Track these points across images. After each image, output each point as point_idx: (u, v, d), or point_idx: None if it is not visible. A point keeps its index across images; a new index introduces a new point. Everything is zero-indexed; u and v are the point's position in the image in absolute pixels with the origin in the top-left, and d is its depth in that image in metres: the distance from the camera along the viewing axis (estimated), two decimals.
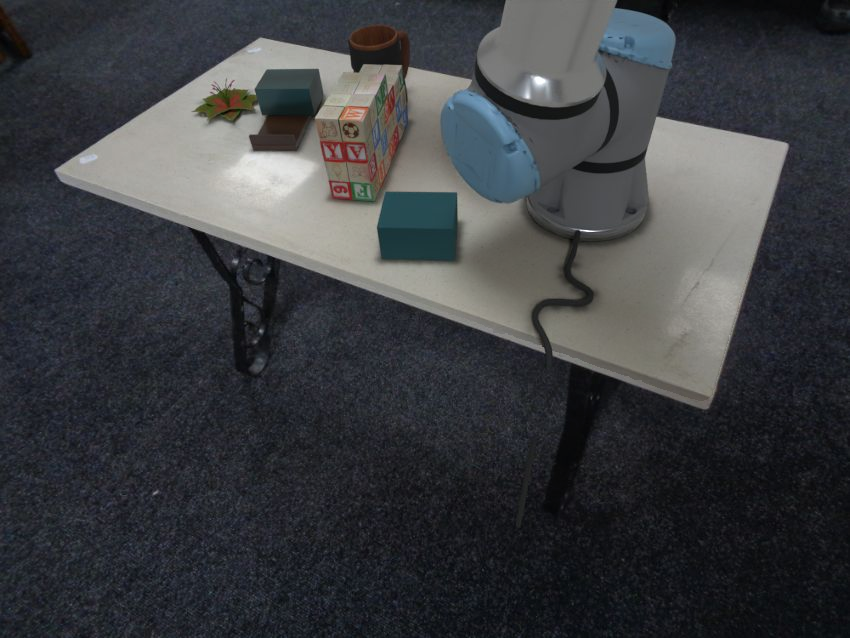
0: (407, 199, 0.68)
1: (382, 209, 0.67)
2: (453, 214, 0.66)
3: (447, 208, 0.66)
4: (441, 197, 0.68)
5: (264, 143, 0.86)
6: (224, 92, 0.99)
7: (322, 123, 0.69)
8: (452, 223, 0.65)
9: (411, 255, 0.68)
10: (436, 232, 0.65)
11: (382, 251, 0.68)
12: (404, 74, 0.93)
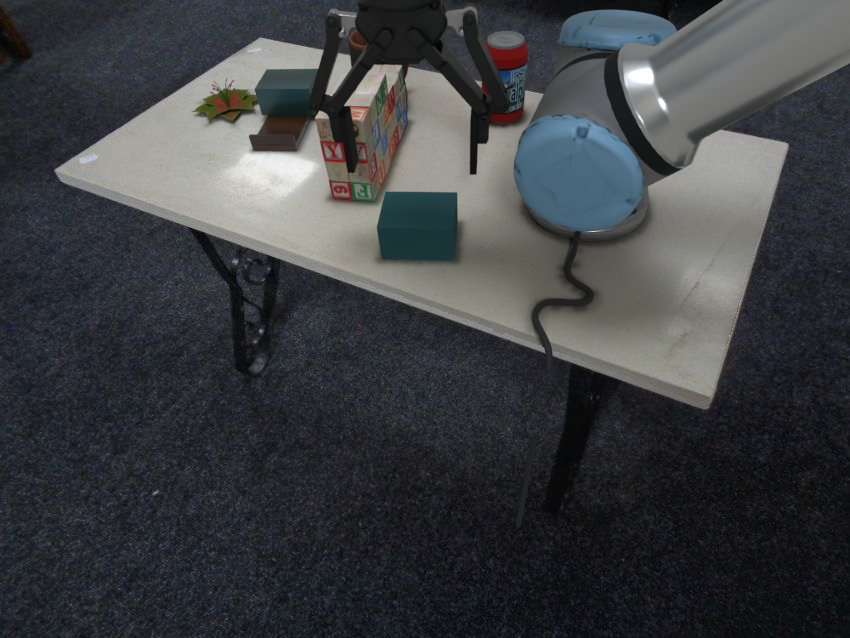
0: (407, 199, 0.68)
1: (382, 209, 0.67)
2: (453, 214, 0.66)
3: (447, 208, 0.66)
4: (441, 197, 0.68)
5: (264, 143, 0.86)
6: (224, 92, 0.99)
7: (322, 123, 0.69)
8: (452, 223, 0.65)
9: (411, 255, 0.68)
10: (436, 232, 0.65)
11: (382, 251, 0.68)
12: (404, 74, 0.93)
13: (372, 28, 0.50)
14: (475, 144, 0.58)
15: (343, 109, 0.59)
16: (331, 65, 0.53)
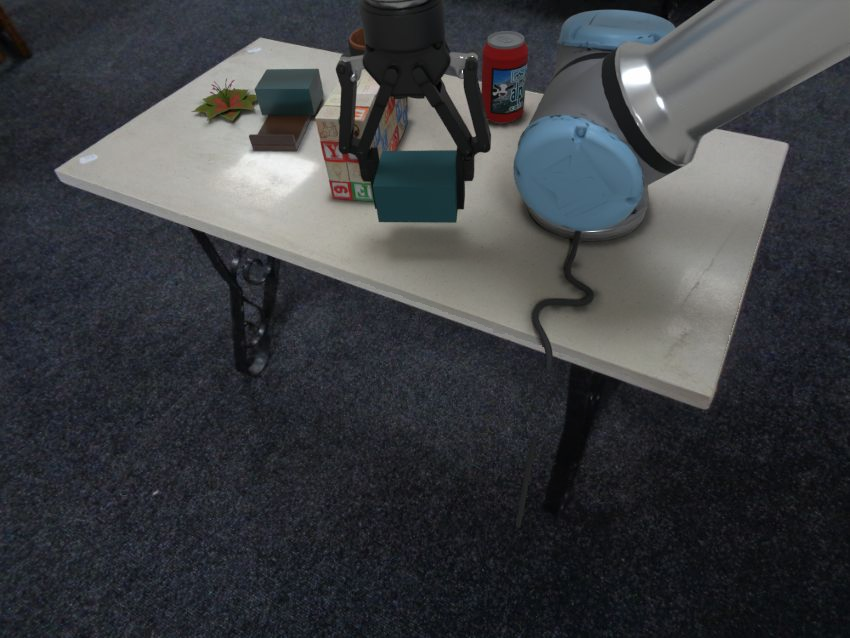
0: (405, 158, 0.64)
1: (379, 168, 0.63)
2: (455, 171, 0.61)
3: (448, 166, 0.62)
4: (442, 155, 0.63)
5: (264, 143, 0.86)
6: (224, 92, 0.99)
7: (322, 123, 0.69)
8: (454, 180, 0.60)
9: (410, 217, 0.63)
10: (436, 190, 0.60)
11: (379, 213, 0.63)
12: None
13: (379, 65, 0.53)
14: (461, 182, 0.61)
15: (371, 151, 0.62)
16: (350, 108, 0.56)
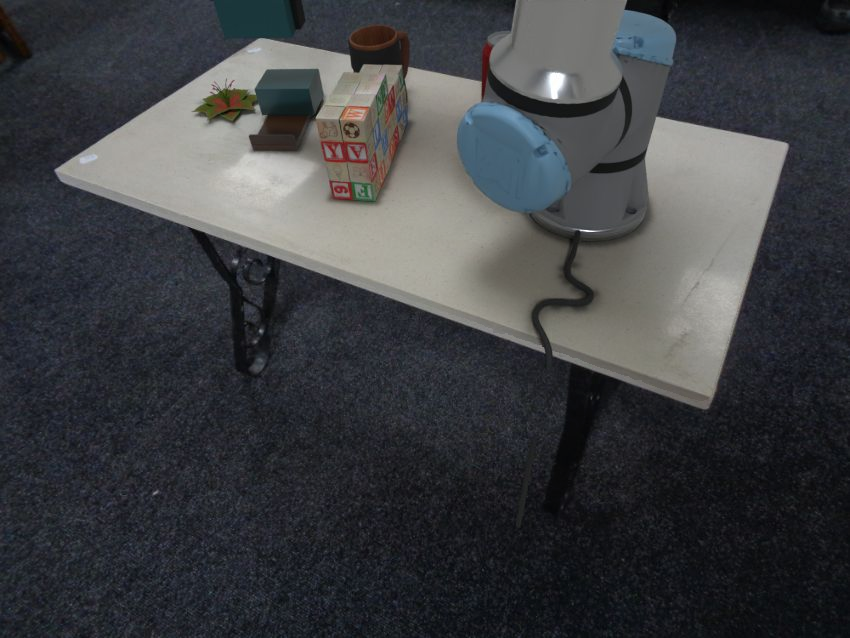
0: None
1: None
2: None
3: None
4: None
5: (264, 143, 0.86)
6: (224, 92, 0.99)
7: (323, 123, 0.69)
8: None
9: (251, 32, 0.71)
10: (267, 1, 0.68)
11: (223, 28, 0.71)
12: (404, 74, 0.93)
13: None
14: None
15: None
16: None
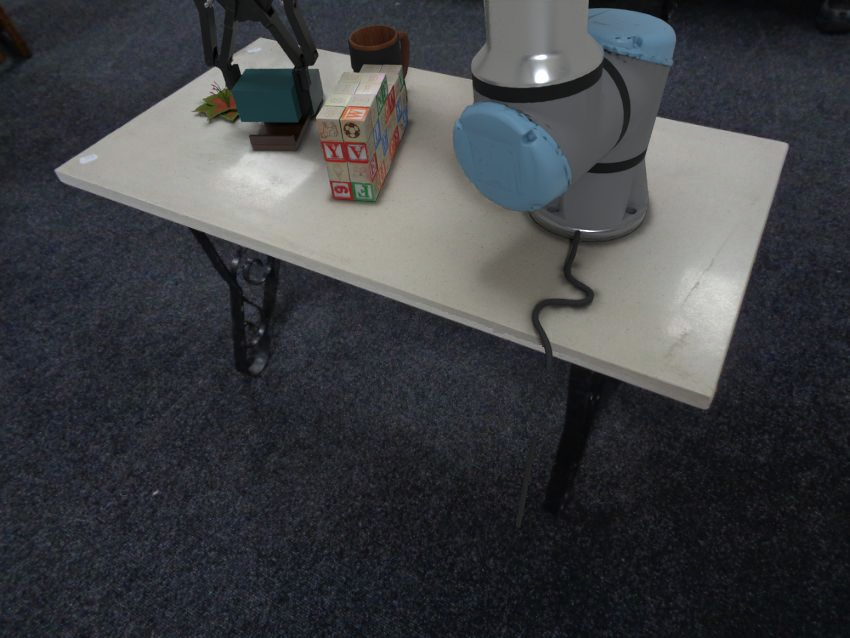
0: (261, 73, 0.84)
1: (239, 79, 0.83)
2: None
3: (290, 78, 0.83)
4: (288, 71, 0.84)
5: (264, 143, 0.86)
6: (224, 92, 0.99)
7: (323, 123, 0.69)
8: (291, 87, 0.81)
9: (263, 118, 0.84)
10: (278, 94, 0.81)
11: (240, 114, 0.84)
12: (404, 74, 0.93)
13: None
14: (299, 90, 0.82)
15: (232, 66, 0.82)
16: (208, 29, 0.77)
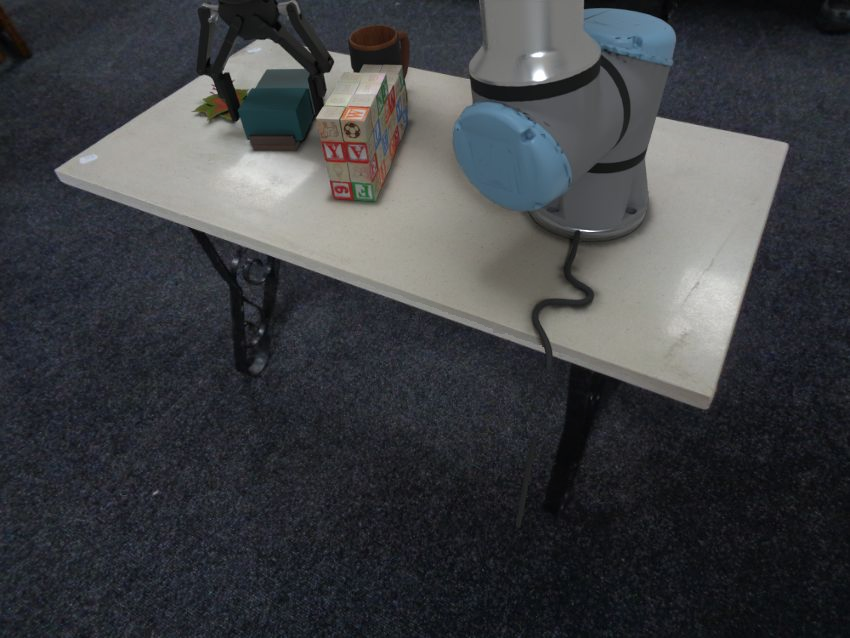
0: (266, 92, 0.87)
1: (245, 99, 0.85)
2: (298, 101, 0.84)
3: (295, 97, 0.85)
4: (293, 91, 0.86)
5: (264, 143, 0.86)
6: None
7: (323, 123, 0.69)
8: (295, 107, 0.83)
9: None
10: (283, 114, 0.83)
11: (246, 133, 0.86)
12: (404, 74, 0.93)
13: (229, 15, 0.75)
14: (315, 97, 0.83)
15: (223, 74, 0.83)
16: (207, 42, 0.78)
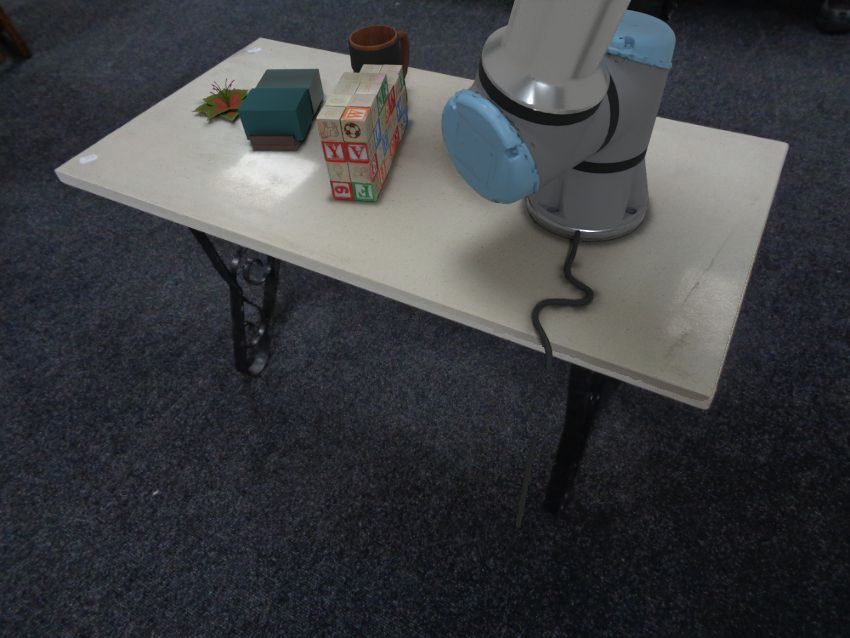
0: (266, 92, 0.87)
1: (245, 99, 0.85)
2: (298, 101, 0.84)
3: (295, 97, 0.85)
4: (293, 91, 0.86)
5: (264, 143, 0.86)
6: (224, 92, 0.99)
7: (323, 123, 0.69)
8: (295, 107, 0.83)
9: None
10: (283, 114, 0.83)
11: (246, 133, 0.86)
12: (404, 74, 0.93)
13: None
14: None
15: None
16: None
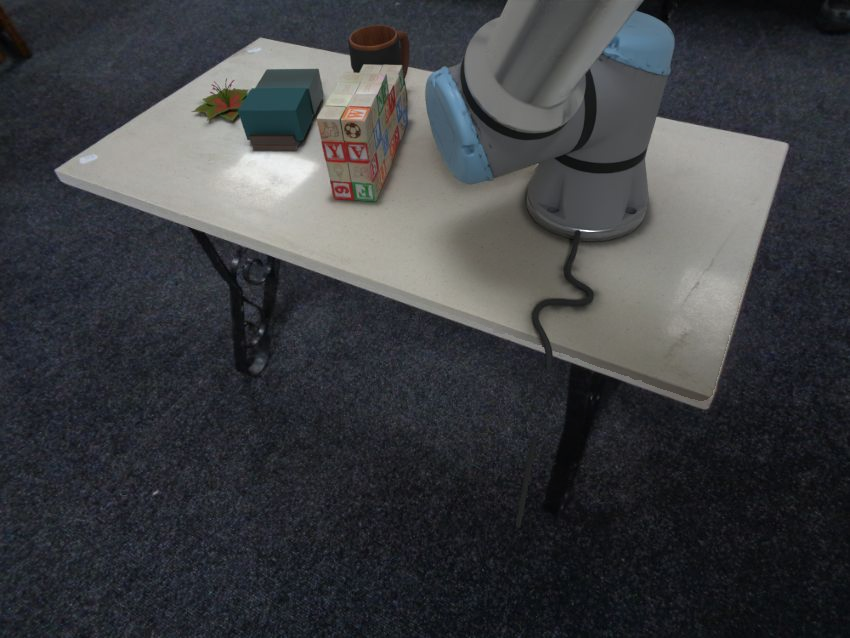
0: (266, 92, 0.87)
1: (245, 99, 0.85)
2: (298, 101, 0.84)
3: (295, 97, 0.85)
4: (293, 91, 0.86)
5: (264, 143, 0.86)
6: (224, 92, 0.99)
7: (324, 123, 0.69)
8: (295, 107, 0.83)
9: None
10: (283, 114, 0.83)
11: (246, 133, 0.86)
12: (404, 74, 0.93)
13: None
14: None
15: None
16: None
